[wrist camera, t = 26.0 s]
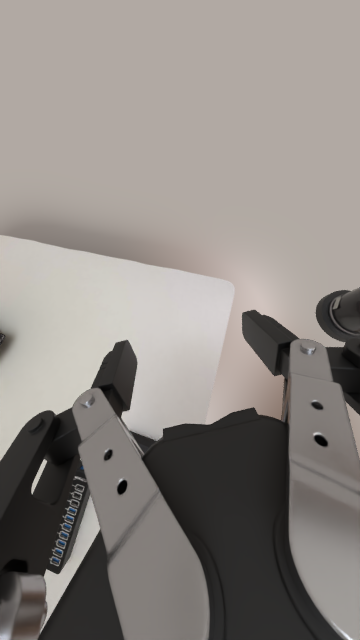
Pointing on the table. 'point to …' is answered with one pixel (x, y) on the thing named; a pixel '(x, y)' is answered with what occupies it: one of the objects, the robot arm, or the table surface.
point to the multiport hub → (70, 521)
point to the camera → (1, 338)
